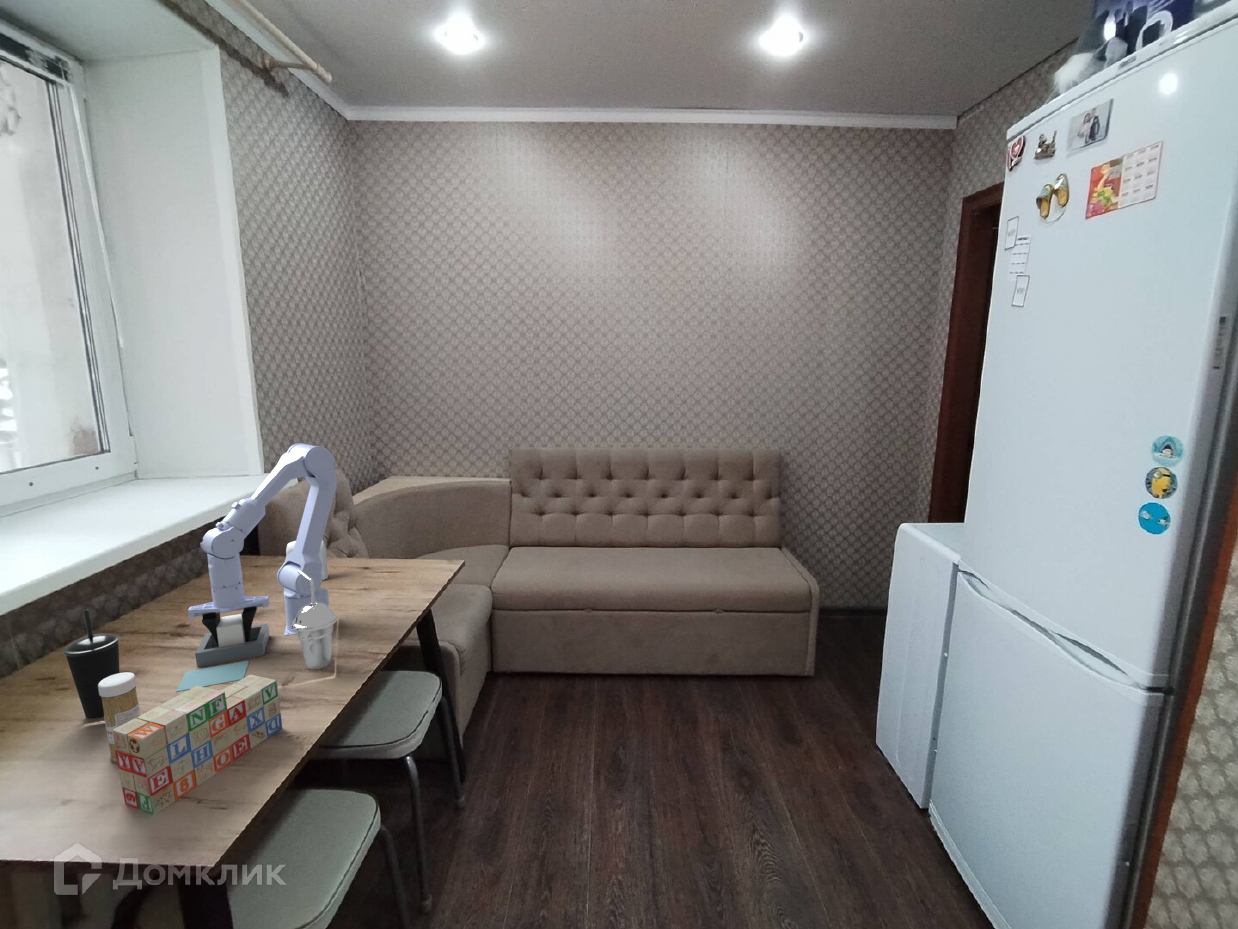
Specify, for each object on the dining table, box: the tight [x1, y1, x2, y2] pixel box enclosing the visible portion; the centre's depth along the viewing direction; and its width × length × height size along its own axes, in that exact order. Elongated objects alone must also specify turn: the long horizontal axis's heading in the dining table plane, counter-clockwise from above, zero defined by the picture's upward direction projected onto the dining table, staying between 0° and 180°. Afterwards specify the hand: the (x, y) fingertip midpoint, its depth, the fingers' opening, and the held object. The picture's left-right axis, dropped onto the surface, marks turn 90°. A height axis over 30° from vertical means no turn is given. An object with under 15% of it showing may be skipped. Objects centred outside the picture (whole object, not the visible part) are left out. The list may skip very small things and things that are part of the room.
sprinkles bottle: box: [98, 671, 141, 763], centre depth 95 cm, size 5×5×14 cm
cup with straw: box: [291, 570, 338, 670], centre depth 123 cm, size 8×9×20 cm
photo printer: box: [285, 539, 329, 581], centre depth 171 cm, size 10×4×12 cm, turn 110°
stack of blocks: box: [113, 674, 283, 815], centre depth 93 cm, size 21×6×12 cm, turn 160°
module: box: [217, 613, 247, 647], centre depth 129 cm, size 4×6×7 cm
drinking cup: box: [62, 608, 121, 719], centre depth 106 cm, size 8×8×20 cm
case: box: [195, 623, 270, 668], centre depth 129 cm, size 12×10×4 cm
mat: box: [175, 660, 250, 693], centre depth 119 cm, size 11×8×1 cm
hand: (234, 642), depth 129 cm, fingers closed on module, 4 cm apart
